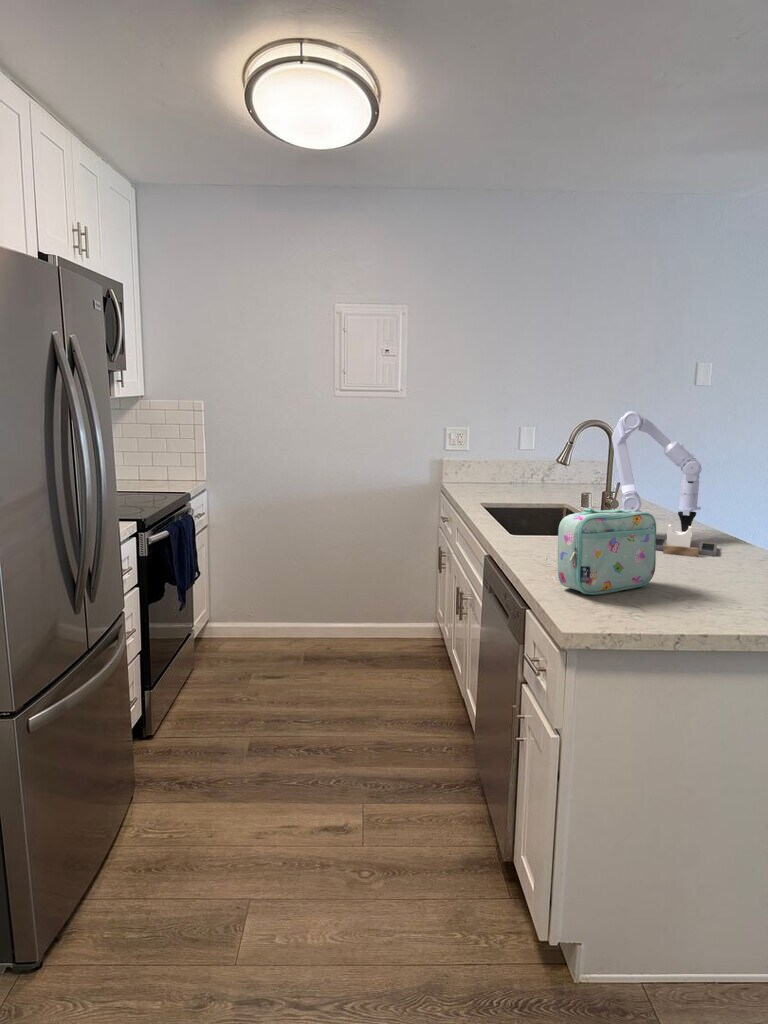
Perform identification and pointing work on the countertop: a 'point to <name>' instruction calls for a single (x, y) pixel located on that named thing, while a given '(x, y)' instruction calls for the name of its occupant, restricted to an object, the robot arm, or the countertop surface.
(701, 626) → the countertop surface
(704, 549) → the trap pits
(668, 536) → the bracket
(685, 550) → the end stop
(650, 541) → the lunch box
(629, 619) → the countertop surface
